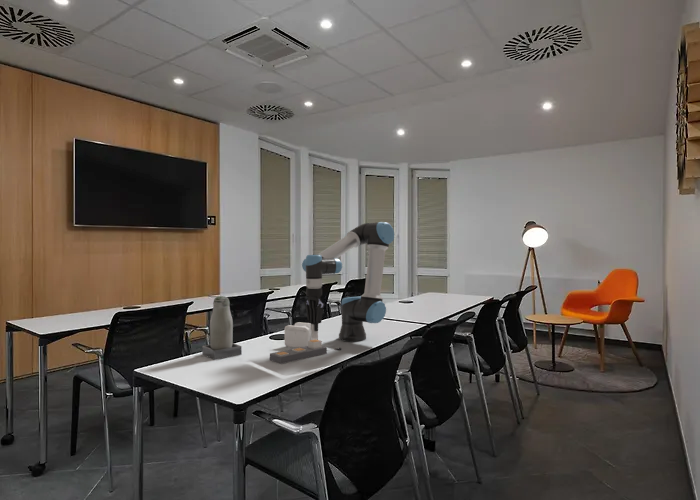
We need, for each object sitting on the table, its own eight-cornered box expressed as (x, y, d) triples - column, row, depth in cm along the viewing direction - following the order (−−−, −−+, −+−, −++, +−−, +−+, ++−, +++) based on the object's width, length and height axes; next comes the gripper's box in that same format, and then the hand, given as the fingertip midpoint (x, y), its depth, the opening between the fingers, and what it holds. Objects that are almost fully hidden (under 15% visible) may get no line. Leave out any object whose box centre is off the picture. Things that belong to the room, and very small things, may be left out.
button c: (283, 358, 192) (283, 351, 192) (289, 360, 189) (289, 353, 189) (275, 360, 189) (275, 352, 189) (280, 362, 186) (280, 354, 186)
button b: (300, 354, 198) (300, 347, 198) (305, 356, 194) (305, 349, 194) (292, 356, 195) (292, 349, 195) (297, 358, 192) (297, 350, 191)
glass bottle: (206, 356, 201) (205, 297, 201) (218, 351, 211) (217, 294, 211) (225, 357, 199) (225, 297, 199) (236, 352, 209) (235, 295, 209)
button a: (315, 346, 204) (315, 339, 204) (321, 347, 200) (321, 340, 200) (308, 347, 201) (308, 340, 201) (313, 349, 197) (313, 342, 197)
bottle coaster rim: (228, 349, 215) (228, 341, 214) (241, 354, 204) (241, 346, 204) (202, 354, 206) (202, 346, 206) (214, 359, 195) (214, 351, 195)
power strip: (334, 348, 214) (334, 340, 214) (346, 351, 208) (346, 343, 208) (269, 362, 190) (269, 353, 190) (280, 366, 183) (280, 357, 183)
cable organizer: (319, 346, 218) (319, 324, 218) (307, 351, 209) (307, 327, 209) (296, 343, 226) (296, 321, 226) (283, 348, 217) (283, 325, 217)
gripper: (299, 287, 203) (300, 336, 203) (316, 289, 193) (316, 341, 193) (312, 286, 208) (312, 334, 208) (329, 287, 198) (329, 338, 198)
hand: (314, 337), depth 201 cm, fingers closed
